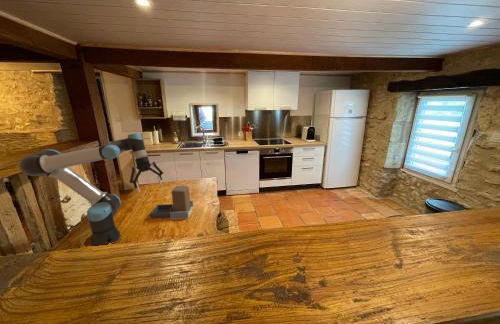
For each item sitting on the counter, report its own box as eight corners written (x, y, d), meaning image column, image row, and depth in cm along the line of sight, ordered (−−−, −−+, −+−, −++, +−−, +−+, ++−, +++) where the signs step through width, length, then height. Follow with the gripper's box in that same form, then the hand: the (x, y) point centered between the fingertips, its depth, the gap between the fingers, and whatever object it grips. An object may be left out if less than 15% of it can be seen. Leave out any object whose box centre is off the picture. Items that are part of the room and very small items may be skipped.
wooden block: (186, 215, 151) (184, 191, 145) (173, 215, 152) (170, 191, 146) (191, 208, 161) (189, 185, 155) (179, 208, 161) (176, 185, 155)
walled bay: (170, 219, 147) (169, 212, 146) (177, 207, 165) (176, 200, 163) (188, 218, 148) (187, 212, 146) (193, 206, 165) (192, 200, 164)
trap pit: (151, 218, 149) (150, 213, 148) (157, 209, 162) (157, 204, 160) (169, 217, 149) (168, 213, 148) (175, 208, 162) (174, 204, 161)
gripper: (159, 153, 139) (167, 182, 142) (118, 162, 123) (128, 195, 126) (162, 152, 133) (171, 182, 136) (119, 162, 118) (130, 196, 121)
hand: (150, 188), depth 131 cm, fingers open, 13 cm apart
